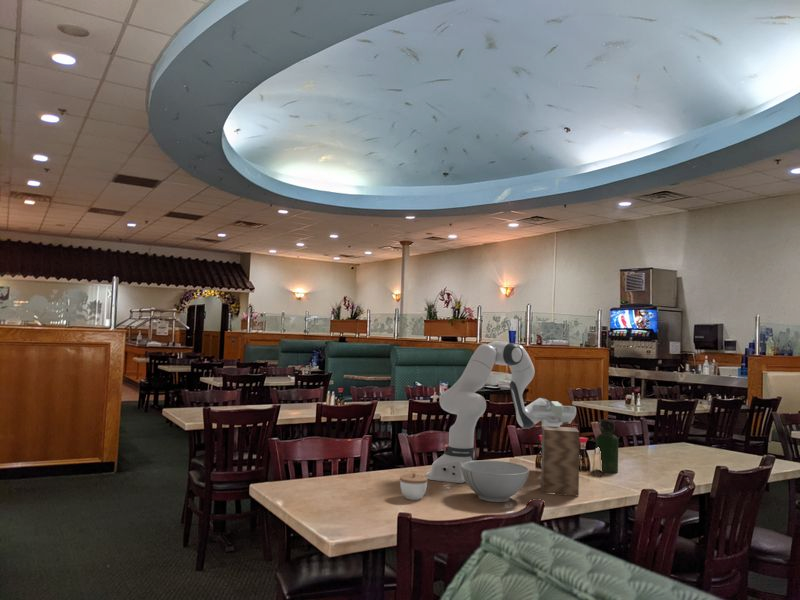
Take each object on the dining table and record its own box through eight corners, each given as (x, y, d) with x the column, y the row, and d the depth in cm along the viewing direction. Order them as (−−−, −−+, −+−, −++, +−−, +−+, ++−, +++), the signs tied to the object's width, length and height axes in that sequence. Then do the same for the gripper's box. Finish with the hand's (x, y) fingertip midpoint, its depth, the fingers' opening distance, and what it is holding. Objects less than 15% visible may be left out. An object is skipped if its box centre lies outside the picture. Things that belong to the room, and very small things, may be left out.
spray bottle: (609, 468, 308) (610, 418, 309) (622, 473, 298) (622, 421, 299) (591, 468, 305) (592, 418, 306) (603, 473, 295) (604, 421, 296)
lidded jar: (399, 493, 242) (400, 469, 243) (426, 495, 242) (427, 471, 242) (398, 500, 231) (399, 475, 232) (427, 502, 231) (427, 477, 232)
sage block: (555, 415, 265) (555, 405, 265) (551, 409, 286) (551, 401, 286) (562, 415, 264) (562, 406, 265) (557, 410, 285) (557, 401, 285)
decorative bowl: (449, 500, 235) (450, 468, 236) (474, 486, 259) (475, 457, 260) (516, 511, 223) (517, 477, 223) (536, 496, 246) (537, 465, 247)
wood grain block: (543, 493, 250) (544, 429, 252) (541, 486, 262) (542, 425, 264) (578, 496, 248) (579, 431, 250) (574, 489, 260) (575, 427, 262)
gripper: (530, 409, 297) (532, 397, 285) (573, 411, 293) (577, 399, 282) (530, 421, 293) (532, 409, 282) (574, 423, 290) (578, 411, 279)
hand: (555, 404), depth 282 cm, fingers closed on sage block, 3 cm apart
